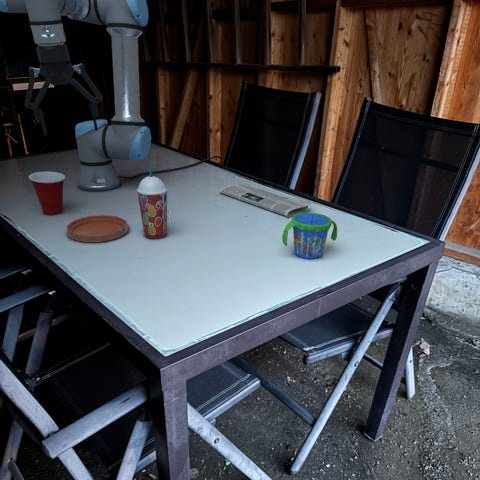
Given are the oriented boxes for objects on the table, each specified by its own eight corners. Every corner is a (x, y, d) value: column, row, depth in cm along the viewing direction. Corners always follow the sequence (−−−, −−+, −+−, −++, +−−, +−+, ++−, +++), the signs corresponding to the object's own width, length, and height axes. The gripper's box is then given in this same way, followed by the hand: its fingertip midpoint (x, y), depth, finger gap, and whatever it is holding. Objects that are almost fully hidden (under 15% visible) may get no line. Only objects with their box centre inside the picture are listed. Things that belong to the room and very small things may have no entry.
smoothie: (175, 233, 142) (171, 164, 131) (159, 242, 135) (154, 171, 125) (151, 228, 145) (146, 161, 134) (135, 237, 138) (128, 167, 128)
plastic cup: (60, 219, 150) (53, 181, 144) (29, 216, 152) (21, 178, 146) (77, 208, 159) (71, 172, 153) (47, 205, 161) (40, 169, 155)
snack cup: (327, 244, 137) (331, 210, 131) (342, 259, 128) (347, 223, 123) (275, 248, 133) (277, 213, 128) (287, 264, 125) (289, 227, 119)
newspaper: (219, 193, 176) (219, 184, 174) (244, 187, 183) (244, 178, 182) (290, 219, 154) (291, 208, 152) (314, 211, 162) (315, 200, 160)
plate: (102, 218, 152) (101, 211, 151) (139, 230, 143) (139, 223, 142) (56, 233, 140) (54, 226, 139) (93, 248, 131) (92, 240, 130)
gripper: (-4, 49, 114) (23, 140, 127) (102, 42, 119) (117, 130, 132) (0, 46, 120) (25, 133, 132) (100, 39, 125) (115, 124, 138)
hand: (71, 132), depth 132 cm, fingers open, 13 cm apart
